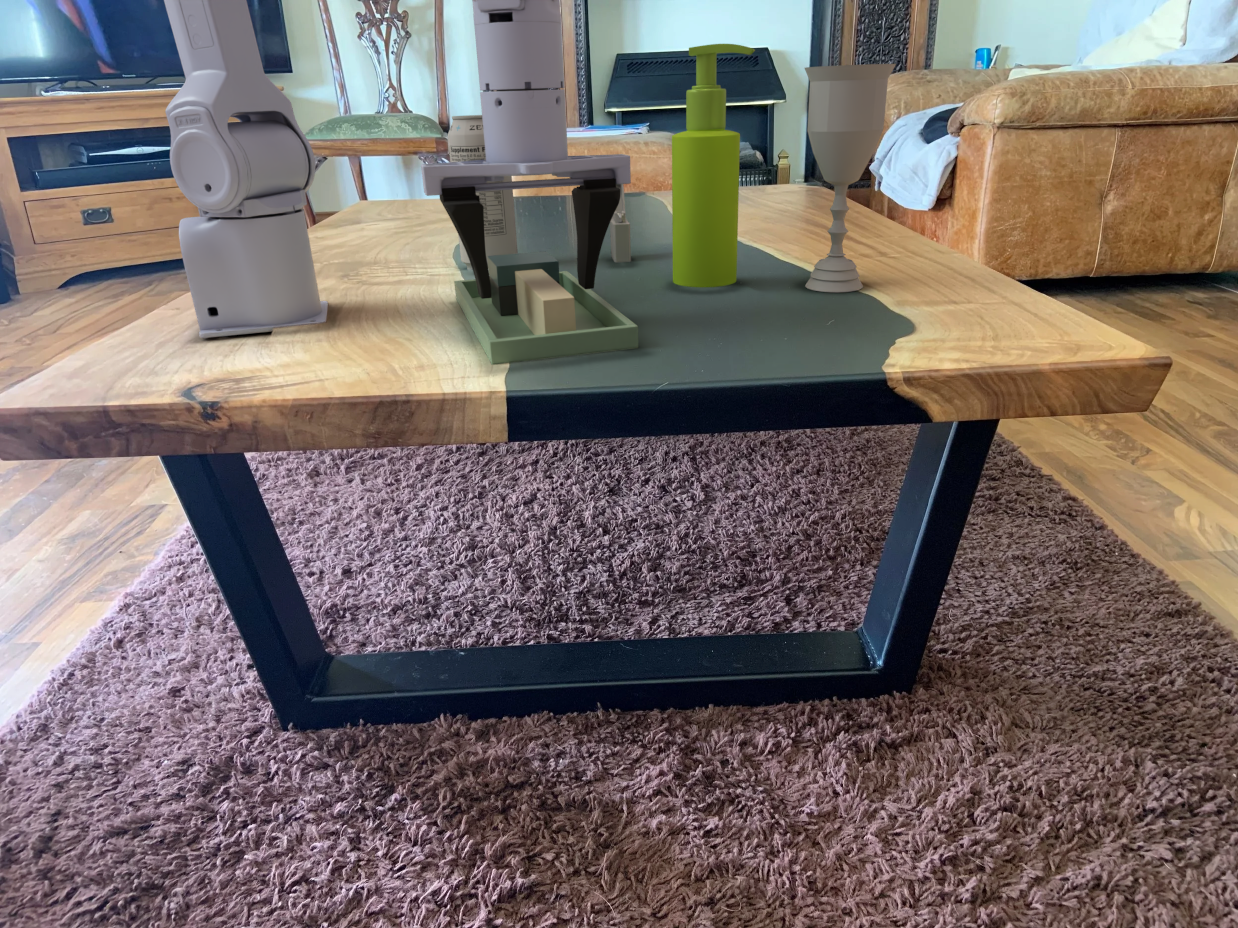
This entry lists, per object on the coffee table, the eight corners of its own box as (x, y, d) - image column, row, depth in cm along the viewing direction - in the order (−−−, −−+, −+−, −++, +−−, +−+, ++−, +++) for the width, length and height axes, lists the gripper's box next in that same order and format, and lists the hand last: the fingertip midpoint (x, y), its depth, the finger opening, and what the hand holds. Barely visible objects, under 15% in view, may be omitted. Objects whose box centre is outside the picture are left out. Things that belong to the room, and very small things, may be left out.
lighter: (631, 266, 87) (629, 186, 84) (614, 267, 87) (612, 186, 84) (624, 254, 94) (621, 179, 90) (608, 255, 93) (606, 180, 90)
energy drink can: (527, 263, 91) (516, 114, 84) (504, 274, 85) (491, 115, 79) (477, 262, 92) (462, 115, 86) (451, 272, 87) (434, 117, 81)
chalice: (868, 278, 78) (887, 65, 71) (882, 294, 72) (904, 63, 64) (789, 278, 79) (800, 68, 71) (796, 295, 73) (808, 66, 65)
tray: (639, 354, 58) (638, 326, 57) (492, 371, 55) (489, 342, 54) (568, 292, 76) (567, 270, 75) (456, 303, 74) (454, 281, 73)
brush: (596, 344, 58) (594, 288, 57) (526, 352, 57) (521, 294, 55) (548, 297, 72) (545, 251, 71) (491, 303, 71) (487, 256, 70)
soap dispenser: (745, 292, 74) (752, 41, 66) (668, 292, 75) (666, 45, 67) (749, 279, 79) (756, 44, 71) (677, 278, 80) (676, 48, 72)
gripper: (417, 93, 51) (443, 312, 57) (642, 87, 55) (645, 293, 60) (410, 94, 57) (433, 291, 63) (612, 88, 61) (618, 275, 66)
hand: (536, 291), depth 62 cm, fingers open, 7 cm apart
